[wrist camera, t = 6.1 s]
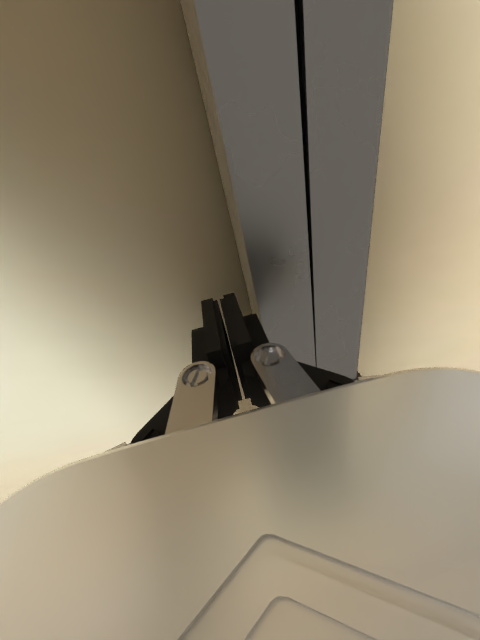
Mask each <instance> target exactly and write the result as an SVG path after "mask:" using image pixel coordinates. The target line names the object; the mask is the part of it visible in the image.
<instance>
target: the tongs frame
mask: <svg viewBox="0 0 480 640" xmlns="http://www.w3.org/2000/svg"><path fill="white" fill-rule="evenodd" d="M294 5H295V22H296V39H297V56H298V73H299V90H300V107H301V124H302V141H303V158H304V175H305V192H306V209H307V226H308V243H309V260H310V277H311V294H312V311H313V328H314V344H315V361H316V367H318V368H321V369H324V370H327V371H331V372H334V373H337V374H340V375H344V376H346V377H348V378H351V379H352V380H353V381H354V380H358V377H362V376H361V375H360V374H359V373H358V371H357V366H358V356H359V346H360V335H361V325H362V315H363V305H364V295H365V285H366V274H367V264H368V254H369V244H370V234H371V224H372V213H373V203H374V193H375V183H376V173H377V162H378V152H379V142H380V132H381V122H382V112H383V101H384V91H385V81H386V71H387V61H388V51H389V40H390V30H391V20H392V10H393V0H294Z"/></svg>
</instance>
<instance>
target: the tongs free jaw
mask: <svg viewBox="0 0 480 640" xmlns="http://www.w3.org/2000/svg"><path fill="white" fill-rule="evenodd" d="M180 2H181V6H182V11H183V15H184V19H185V24H186V28H187V32H188V37H189V41H190V45H191V50H192V54H193V58H194V63H195V67H196V71H197V76H198V80H199V84H200V89H201V93H202V97H203V102H204V106H205V110H206V115H207V119H208V123H209V128H210V132H211V136H212V141H213V145H214V149H215V154H216V158H217V162H218V167H219V171H220V175H221V180H222V184H223V188H224V193H225V197H226V201H227V206H228V210H229V214H230V219H231V223H232V227H233V232H234V236H235V240H236V245H237V249H238V253H239V258H240V262H241V266H242V271H243V275H244V279H245V284H246V288H247V292H248V297H249V301H250V305H251V310H252V314H255V313H256V314H257V316H258V319H259V321H260V323H261V325H262V327H263V329H264V332H265V334H266V336H267V338H268V340H269V343H277V344H280V345H283V346H284V347H285V348H286V349H287V350H288V351H289V352H290V354H291V355H292V356H293V357H294V359H295V360H296V361H298V362H301V363H304V364H308V365H311V366H314V367H316V361H315V344H314V328H313V311H312V294H311V277H310V260H309V243H308V226H307V209H306V192H305V175H304V158H303V141H302V124H301V107H300V90H299V73H298V56H297V39H296V22H295V5H294V0H180Z"/></svg>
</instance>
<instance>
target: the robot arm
mask: <svg viewBox="0 0 480 640" xmlns="http://www.w3.org/2000/svg"><path fill="white" fill-rule="evenodd" d="M223 296H224V298H223V299H220V302H221V306H222V310H223V315H224V319H225V323H226V327H227V332H228V336H229V340H230V344H231V348H232V352H233V355H234V359H235V363H236V366H237V370H238V374H239V377H240V381H241V384H242V388H243V392H244V395H245V399H247V398H251V402H252V405H256V406H258V407H260V408H257V409H253V410H250V411H246V412H243V413H239V414H236V415H233V414H234V412H235V411H236V410H237V409H239V405H238V401H240V400H242V396H241V392H240V388H239V383H238V379H237V374H236V370H235V366H234V361H233V357H232V353H231V348H230V344H229V341H228V337H227V333H226V330H225V326H224V323H223V319H222V316H221V312H220V308H219V305H218V301H217V300H215V301H213V299H212V298H211V299H207V300H203V301H201V304H202V315H203V326H204V327H202V328H198V329H194V330H192V364H190V365H188V366H187V367H186V368H184V369H183V370H182V372H181V373H180V375H179V377H178V381H177V385H176V389H175V394H174V396H173V397H172V398H171V399H170V400H169V401H168V402H167V403H166V404H165V405H164V406H163V407H162V408H161V409H160V410H159V411H158V412H157V413H156V414H155V415H154V417H153V418H152V419H151V420H150V421H149V422H148V423H147V424H146V425H145V426H144V427H143V428H142V429H141V430H140V431H139V432H138V433H137V434H136V435H135V437H134V438H133V439H132V441H131V443H129V444H126V442H124V443H122V444H120V445H118V446H116V447H114V448H112V449H110V450H107V451H105V452H103V453H100V454H97V455H94V456H91V457H88V458H85V459H82V460H79V461H76V462H73V463H71V464H68V465H66V466H63V467H61V468H58V469H56V470H54V471H52V472H50V473H48V474H46V475H44V476H42V477H40V478H38V479H36V480H34V481H32V482H31V483H29V484H27V485H26V486H24V487H23V488H21V489H19V490H18V491H16V492H15V493H13V494H12V495H10V496H9V497H8V498H6V499H5V500H4V501H2V502H1V503H0V640H480V372H479V371H474V370H468V369H461V368H443V367H432V368H418V369H411V370H404V371H398V372H394V373H390V374H385V375H378V376H365V377H358V380H354V381H353V380H352V379H351V378H348V377H346V376H344V375H340V374H337V373H334V372H331V371H327V370H324V369H321V368H318V367H314V366H311V365H308V364H304V363H301V362H298V361H296V360H295V359H294V357H293V356H292V355H291V354H290V352H289V351H288V350H287V349H286V348H285V347H284V346H283V345H280V344H277V343H269V340H268V338H267V336H266V334H265V332H264V329H263V327H262V325H261V323H260V321H259V319H258V316H257V314H256V313H255V314H252V315H248V316H244V317H243V316H242V313H241V311H240V308H239V305H238V302H237V299H236V297H235V294H234V293H231V294H227V295H223Z"/></svg>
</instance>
